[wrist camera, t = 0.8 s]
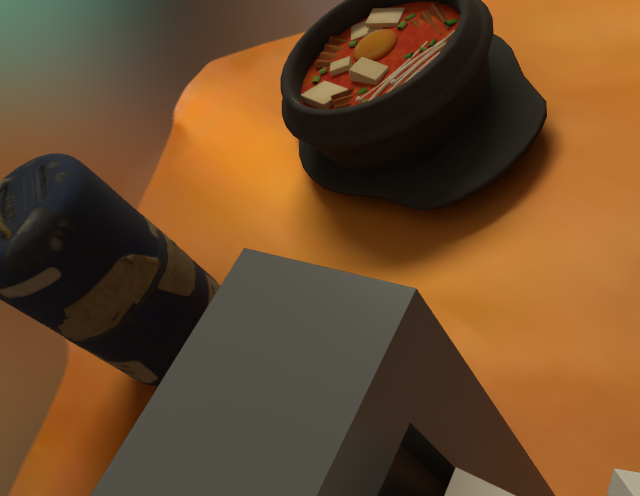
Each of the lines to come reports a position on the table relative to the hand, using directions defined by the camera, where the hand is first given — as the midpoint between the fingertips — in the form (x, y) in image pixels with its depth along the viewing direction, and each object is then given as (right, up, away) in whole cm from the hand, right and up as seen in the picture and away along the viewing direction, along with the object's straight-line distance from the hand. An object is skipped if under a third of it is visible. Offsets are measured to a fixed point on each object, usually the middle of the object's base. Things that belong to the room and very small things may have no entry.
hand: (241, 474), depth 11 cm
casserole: (+9, +15, +38) cm, 42 cm away
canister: (-9, -3, +36) cm, 37 cm away
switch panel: (+2, -17, +17) cm, 24 cm away
